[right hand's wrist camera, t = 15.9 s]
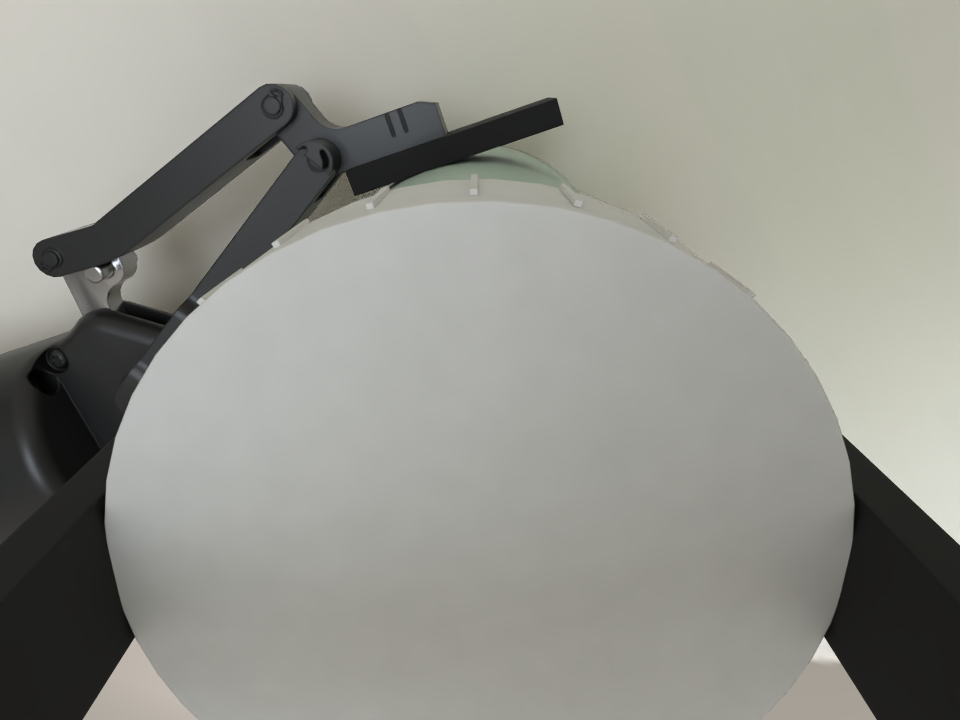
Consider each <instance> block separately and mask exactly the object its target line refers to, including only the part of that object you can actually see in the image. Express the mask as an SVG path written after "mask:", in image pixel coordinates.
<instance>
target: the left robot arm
mask: <svg viewBox="0 0 960 720" xmlns="http://www.w3.org/2000/svg"><path fill="white" fill-rule="evenodd" d="M561 125H564V124H563V120H562V116H561V113H560V109H559V105H558V101H557V98H546V99H543V100H540V101H537V102H534V103H531V104H528V105H525V106H522V107H520V108H517V109H514V110H511V111H508V112H505V113H502V114H499V115H497V116H494V117H491V118H488V119H485V120H482V121H479V122H476V123H474V124H471V125H468V126H465V127H462V128H459V129H456V130H453V131H451V132H448V131H447V128H446V125H445V122H444V119H443V116H442V113H441V110H440V107H439V104H438V103H436V102H422V101H421V102H416V103H413V104H410V105H407V106H404V107H402V108H399V109H396V110H393V111H390V112H387V113H385V114H382V115H379V116H376V117H373V118H371V119H368V120H365V121H362V122H359V123H356V124H354V125H351V126H348V127H340V126H337V125H334V124H332V123H331V122H329V121H328V120H327V119H326V118H325V117H324V116H323V115H322V114H321V112H320V111H319V110H318V109H317V108H316V106H315V105H314V104H313V103H312V99H311V97H310V95H309V93H308V92H307V91H306V90H305V89H303V88H302V87H300V86H297V85H290V84H265V85H263V86H261V87H259V88H258V89H257V90H256V91H254V92H253V93H252V94H251V95H249V96H248V97H247V98H246V99H245V100H243V101H242V102H241V103H240V104H239V105H237V106H236V107H235V108H234V109H233V110H231V111H230V112H229V113H228V114H227V115H225V116H224V117H223V118H222V119H220V120H219V121H218V122H217V123H216V124H214V125H213V126H212V127H211V128H210V129H208V130H207V131H206V132H205V133H204V134H202V135H201V136H200V137H199V138H198V139H196V140H195V141H194V142H193V143H191V144H190V145H189V146H188V147H187V148H185V149H184V150H183V151H182V152H181V153H179V154H178V155H177V156H176V157H175V158H173V159H172V160H171V161H170V162H169V163H167V164H166V165H165V166H164V167H162V168H161V169H160V170H159V171H158V172H156V173H155V174H154V175H153V176H152V177H150V178H149V179H148V180H147V181H146V182H144V183H143V184H142V185H141V186H140V187H138V188H137V189H136V190H135V191H133V192H132V193H131V194H130V195H129V196H127V197H126V198H125V199H124V200H123V201H121V202H120V203H119V204H118V205H117V206H115V207H114V208H113V209H112V210H111V211H109V212H108V213H107V214H106V215H104V216H103V217H102V218H101V219H100V220H98V221H97V222H96V223H93V224H90V225H87V226H83V227H80V228H77V229H74V230H71V231H68V232H65V233H62V234H59V235H56V236H53V237H50V238H47V239H44V240H42V241H40V242H38V243H37V244H36V246H35V247H34V249H33V259H34V262H35V264H36V266H37V267H38V268H39V270H41V271H42V272H43V273H45V274H46V275H49V276H52V277H61V276H63V277H64V279H65V281H66V283H67V285H68V287H69V289H70V291H71V293H72V295H73V297H74V299H75V301H76V303H77V305H78V307H79V309H80V311H81V313H82V315H83V317H81V318H80V319H79V321H78V322H77V323H76V325H75V326H74V328H73V329H72V330H71V331H70V332H67V333H64V334H61V335H58V336H55V337H52V338H49V339H46V340H43V341H40V342H37V343H34V344H31V345H28V346H25V347H22V348H19V349H16V350H13V351H10V352H7V353H4V354H1V355H0V544H1V543H2V542H3V541H5V540H6V539H7V538H8V537H9V536H10V535H11V534H12V533H13V532H14V531H15V530H16V529H17V528H18V527H19V526H20V525H22V524H23V523H24V522H25V521H26V520H27V519H28V518H29V517H30V516H31V515H32V514H33V513H34V512H35V511H36V510H37V509H39V508H40V507H41V506H42V505H43V504H44V503H45V502H46V501H47V500H48V499H49V498H50V497H51V496H52V495H53V494H54V493H56V492H57V491H58V490H59V489H60V488H61V487H62V486H63V485H64V484H65V483H66V482H67V481H68V480H69V479H70V478H72V477H73V476H74V475H75V474H76V473H77V472H78V471H79V470H80V469H81V468H82V467H83V466H84V465H85V464H86V463H87V462H89V461H90V460H91V459H92V458H93V457H94V456H95V455H96V454H97V453H98V452H99V451H100V450H101V449H102V448H103V447H104V446H106V445H107V444H108V443H109V442H110V441H111V440H112V439H113V438H114V437H115V436H116V435H117V432H118V429H119V427H120V424H121V422H122V419H123V416H124V414H125V411H126V409H127V406H128V404H129V401H130V398H131V396H132V394H133V392H134V391H135V389H136V387H137V385H138V384H139V382H140V380H141V379H142V377H143V375H144V374H145V372H146V370H147V368H148V367H149V365H150V363H151V362H152V360H153V358H154V357H155V355H156V354H157V352H158V351H159V350H160V349H161V348H162V346H163V345H164V344H165V343H166V342H167V340H168V339H169V338H170V337H171V335H172V334H173V333H174V332H175V331H176V329H177V328H178V327H179V326H180V325H181V323H182V322H183V321H184V320H185V319H186V317H187V316H188V315H189V314H191V313H192V312H193V311H194V310H195V309H196V308H197V307H198V306H200V305H199V304H198V303H197V301H198V300H199V299H200V298H201V297H202V296H203V295H205V294H206V293H208V292H209V291H210V290H212V289H213V288H214V287H216V286H217V285H219V284H220V283H221V282H223V281H224V280H225V279H227V278H228V277H230V276H231V275H232V274H234V273H235V272H236V271H238V270H239V269H240V268H242V269H244V268H246V267H247V266H248V265H250V264H251V263H252V262H254V261H255V260H256V259H258V258H259V257H260V256H262V255H263V254H264V253H266V252H267V251H268V250H270V249H271V248H273V246H272V244H271V243H273V242H274V241H275V240H277V239H278V238H280V237H281V236H282V235H284V234H285V233H287V232H288V231H289V230H291V229H292V228H293V227H295V226H296V225H298V224H299V223H300V222H302V221H303V220H305V219H307V218H309V216H310V215H311V214H312V212H313V211H314V210H315V209H316V207H317V206H318V205H319V203H320V202H321V201H322V200H323V198H324V197H325V196H326V194H327V193H328V192H329V191H330V189H331V188H332V187H333V185H334V184H335V183H336V182H337V180H338V179H339V178H340V176H341V175H342V174H343V173H344V172H346V174H347V177H348V180H349V182H350V185H351V187H352V190H353V193H354V195H355V196H356V195H359V194H362V193H365V192H368V191H371V190H374V189H377V188H380V187H383V186H385V185H388V184H391V183H394V182H397V181H400V180H403V179H406V178H409V177H412V176H415V175H418V174H421V173H423V172H426V171H429V170H432V169H435V168H438V167H441V166H444V165H447V164H450V163H453V162H456V161H459V160H462V159H464V158H467V157H470V156H473V155H476V154H479V153H482V152H485V151H488V150H491V149H494V148H497V147H500V146H502V145H505V144H508V143H511V142H514V141H517V140H520V139H523V138H526V137H529V136H532V135H535V134H538V133H541V132H543V131H546V130H549V129H552V128H555V127H558V126H561ZM280 141H282V142H283V143H284V144H285V145H286V146H287V147H288V149H289V150H290V151H291V152H292V153H293V154H294V157H293V158H292V159H291V161H290V162H289V163H288V165H287V166H286V168H285V169H284V170H283V172H282V173H281V174H280V176H279V177H278V178H277V180H276V181H275V182H274V184H273V185H272V186H271V188H270V189H269V190H268V192H267V193H266V194H265V196H264V197H263V199H262V200H261V201H260V203H259V204H258V205H257V207H256V208H255V209H254V211H253V212H252V213H251V215H250V216H249V217H248V219H247V220H246V221H245V223H244V224H243V225H242V227H241V228H240V229H239V231H238V232H237V234H236V235H235V236H234V238H233V239H232V240H231V242H230V243H229V244H228V246H227V247H226V248H225V250H224V251H223V252H222V254H221V255H220V256H219V258H218V259H217V260H216V262H215V263H214V264H213V266H212V267H211V269H210V270H209V271H208V273H207V274H206V275H205V277H204V278H203V279H202V281H201V282H200V283H199V285H198V286H197V287H196V289H195V290H194V291H193V293H192V294H191V295H190V297H189V298H188V299H187V300H186V301H185V302H184V303H183V304H182V305H181V306H180V307H179V308H178V309H177V311H176V312H175V313H174V314H171V313H167V312H164V311H160V310H157V309H153V308H150V307H146V306H143V305H140V304H136V303H133V302H129V301H123V300H122V297H121V290H120V289H121V286H122V284H123V283H124V281H126V280H127V279H129V278H130V277H132V276H133V275H134V273H135V272H136V269H137V260H138V258H137V255H136V254H135V252H134V251H135V250H137V249H139V248H141V247H143V246H145V245H147V244H149V243H151V242H153V241H155V240H156V239H158V238H159V237H161V236H162V235H164V234H165V233H166V232H168V231H169V230H170V229H171V228H173V227H174V226H175V225H176V224H178V223H179V222H180V221H181V220H183V219H184V218H185V217H186V216H188V215H189V214H190V213H191V212H193V211H194V210H195V209H196V208H198V207H199V206H200V205H201V204H203V203H204V202H205V201H206V200H208V199H209V198H210V197H211V196H213V195H214V194H215V193H216V192H218V191H219V190H220V189H222V188H223V187H224V186H225V185H227V184H228V183H229V182H230V181H232V180H233V179H234V178H235V177H237V176H238V175H239V174H240V173H242V172H243V171H244V170H245V169H247V168H248V167H249V166H250V165H252V164H253V163H254V162H255V161H257V160H258V159H259V158H260V157H262V156H263V155H264V154H265V153H267V152H268V151H269V150H270V149H272V148H273V147H274V146H275V145H277V144H278V143H279V142H280Z"/></svg>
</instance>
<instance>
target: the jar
mask: <svg viewBox="0 0 960 720" xmlns="http://www.w3.org/2000/svg"><path fill="white" fill-rule="evenodd" d="M471 174H478V179H499V180H508V181H518V182H527V183H537V184H543V185H547V186H551V187H555V188H559V189H560V185H561V183H562V184H566V185H568V186H569V187H570V188H571V189H572V191H573V192H576V193H578V192H577V191H576V190H575V189H574V188H573V187H572V186H571V185H570V184H569V183H568V182H567V181H566V180H565V179H564V178H563V177H562V176H561V175H560V174H559V173H557V172H556V171H555V170H554V169H552V168H551V167H550V166H548V165H547V164H545V163H543V162H542V161H540V160H538V159H537V158H535V157H532V156H530V155H528V154H526V153H523V152H521V151H517V150H514V149H510V148H507V147H501V146H500V147H497V148H494V149H491V150H488V151H485V152H482V153H479V154H476V155H473V156H470V157H467V158H464V159H462V160H459V161H456V162H453V163H450V164H447V165H444V166H441V167H438V168H435V169H432V170H429V171H426V172H423V173H421V174H418V175H415V176H412V177H409V178H406V179H403V180H400V181H397V182H394V183H391V184H390V185H389V188H390V190H394V189H397V188H402V187H408V186H414V185H420V184H426V183H432V182H438V181H444V180H471Z"/></svg>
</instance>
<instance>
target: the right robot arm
mask: <svg viewBox="0 0 960 720" xmlns="http://www.w3.org/2000/svg"><path fill="white" fill-rule="evenodd" d="M115 437H116V436H115ZM115 437H114V438H113V439H112V440H111V441H110V442H109V443H108V444H107V445H106V446H104V447H103V448H102V449H101V450H100V451H99V452H98V453H97V454H96V455H95V456H94V457H93V458H92V459H91V460H90V461H89V462H87V463H86V464H85V465H84V466H83V467H82V468H81V469H80V470H79V471H78V472H77V473H76V474H75V475H74V476H73V477H72V478H70V479H69V480H68V481H67V482H66V483H65V484H64V485H63V486H62V487H61V488H60V489H59V490H58V491H57V492H56V493H54V494H53V495H52V496H51V497H50V498H49V499H48V500H47V501H46V502H45V503H44V504H43V505H42V506H41V507H40V508H39V509H37V510H36V511H35V512H34V513H33V514H32V515H31V516H30V517H29V518H28V519H27V520H26V521H25V522H24V523H23V524H22V525H20V526H19V527H18V528H17V529H16V530H15V531H14V532H13V533H12V534H11V535H10V536H9V537H8V538H7V539H6V540H5V541H3V542H2V543H1V544H0V720H83V718H84V716H85V715H86V713H87V712H88V710H89V708H90V707H91V705H92V704H93V702H94V701H95V699H96V698H97V696H98V694H99V693H100V691H101V690H102V688H103V686H104V685H105V683H106V682H107V680H108V679H109V677H110V675H111V674H112V672H113V671H114V669H115V668H116V666H117V664H118V663H119V661H120V660H121V658H122V656H123V655H124V653H125V652H126V650H127V649H128V647H129V645H130V644H131V642H132V641H133V639H134V638H135V636H134V634H133V631H132V629H131V627H130V624H129V622H128V620H127V618H126V615H125V613H124V611H123V607H122V604H121V600H120V596H119V592H118V588H117V583H116V579H115V575H114V571H113V567H112V563H111V558H110V554H109V549H108V544H107V540H106V532H105V523H104V522H105V500H106V480H107V475H108V470H109V465H110V461H111V456H112V451H113V446H114V442H115ZM842 437H843V440H844V444H845V448H846V451H847V455H848V458H849V462H850V470H851V479H852V487H853V496H854V505H855V506H854V528H853V541H852V547H851V551H850V555H849V560H848V564H847V568H846V572H845V577H844V581H843V585H842V589H841V593H840V597H839V601H838V604H837V608H836V611H835V613H834V616H833V619H832V621H831V624H830V626H829V628H828V630H827V631H826V633H825V635H824V637H825V639H826V640H827V642H828V643H829V645H830V647H831V648H832V650H833V651H834V653H835V654H836V656H837V658H838V659H839V661H840V662H841V664H842V666H843V667H844V669H845V670H846V672H847V673H848V675H849V677H850V678H851V680H852V681H853V683H854V684H855V686H856V688H857V689H858V691H859V692H860V694H861V695H862V697H863V699H864V700H865V702H866V703H867V705H868V706H869V708H870V710H871V711H872V713H873V714H874V716H875V718H876V719H877V720H960V545H959V544H958V543H957V542H956V541H955V540H954V539H953V538H952V537H950V536H949V535H948V534H947V533H946V532H945V531H944V530H943V529H942V528H941V527H940V526H939V525H938V524H937V523H936V522H935V521H933V520H932V519H931V518H930V517H929V516H928V515H927V514H926V513H925V512H924V511H923V510H922V509H921V508H920V507H919V506H917V505H916V504H915V503H914V502H913V501H912V500H911V499H910V498H909V497H908V496H907V495H906V494H905V493H904V492H903V491H902V490H900V489H899V488H898V487H897V486H896V485H895V484H894V483H893V482H892V481H891V480H890V479H889V478H888V477H887V476H886V475H885V474H883V473H882V472H881V471H880V470H879V469H878V468H877V467H876V466H875V465H874V464H873V463H872V462H871V461H870V460H869V459H868V458H866V457H865V456H864V455H863V454H862V453H861V452H860V451H859V450H858V449H857V448H856V447H855V446H854V445H853V444H852V443H851V442H849V441H848V440H847V439H846V438H845V437H844V436H843V435H842Z"/></svg>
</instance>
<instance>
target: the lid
mask: <svg viewBox="0 0 960 720" xmlns="http://www.w3.org/2000/svg"><path fill="white" fill-rule="evenodd" d="M677 240H678V238H677V237H676V236H675V235H673V234H672V233H670V232H669V231H668V230H666V229H665V228H664V227H662V226H661V225H659V224H658V223H657V222H655V221H654V220H653V219H651V218H650V217H649V216H647V215H645V214H643V215H642V217H641V219H640V218H639V217H637V216H635V215H633V214H632V213H630V212H628V211H625V210H622V209H620V208H617V207H615V206H612V205H610V204H607V203H605V202H602V201H600V200H597V199H595V198H592V197H590V196H587V195H584V194H580V193H576V192H573V191H572V189H571V188H570V187H569V186H568V185H566V184H562V183H561V185H560V189H559V188H555V187H551V186H547V185H543V184H537V183H527V182H518V181H508V180H499V179H478V174H471V180H444V181H438V182H432V183H426V184H420V185H414V186H408V187H402V188H397V189H394V190H390V188H389V186H386V187H382V188H381V189H380V190H379V191H378V192H377V193H376V194H375V195H374V196H371V197H368V198H365V199H361V200H358V201H355V202H352V203H350V204H348V205H346V206H344V207H342V208H339V209H337V210H335V211H333V212H331V213H329V214H327V215H325V216H322V217H320V218H318V219H316V220H314V221H312V222H310V221H309V220H308V218H307V219H305V220H303V221H302V222H300V223H299V224H298V225H296V226H295V227H293V228H292V229H291V230H289V231H288V232H287V233H285V234H284V235H282V236H281V237H280V238H278V239H277V240H275V241H274V242H273V243H271V244H272V246H273V248H271V249H270V250H268V251H267V252H266V253H264V254H263V255H262V256H260V257H259V258H258V259H256V260H255V261H254V262H252V263H251V264H250V265H248V266H247V267H246V268H244V269H242V268H240V269H239V270H238V271H236V272H235V273H234V274H232V275H231V276H230V277H228V278H227V279H225V280H224V281H223V282H221V283H220V284H219V285H217V286H216V287H214V288H213V289H212V290H210V291H209V292H208V293H206V294H205V295H203V296H202V297H201V298H200V299H199V300H198V301H197V303H198V304H199V305H200V306H198V307H197V308H196V309H195V310H194V311H193V312H192V313H191V314H189V315H188V316H187V317H186V319H185V320H184V321H183V322H182V323H181V325H180V326H179V327H178V328H177V329H176V331H175V332H174V333H173V334H172V335H171V337H170V338H169V339H168V340H167V342H166V343H165V344H164V345H163V346H162V348H161V349H160V350H159V351H158V352H157V354H156V355H155V357H154V358H153V360H152V362H151V363H150V365H149V367H148V368H147V370H146V372H145V374H144V375H143V377H142V379H141V380H140V382H139V384H138V385H137V387H136V389H135V391H134V392H133V394H132V396H131V398H130V401H129V404H128V406H127V409H126V411H125V414H124V416H123V419H122V422H121V424H120V427H119V429H118V432H117V435H116V437H115V442H114V446H113V451H112V456H111V461H110V465H109V470H108V475H107V480H106V500H105V522H104V523H105V532H106V540H107V544H108V549H109V554H110V558H111V563H112V567H113V571H114V575H115V579H116V583H117V588H118V592H119V596H120V600H121V604H122V607H123V611H124V613H125V615H126V618H127V620H128V622H129V624H130V627H131V629H132V631H133V634H134V636H135V638H136V640H137V642H138V643H139V645H140V646H141V648H142V650H143V651H144V653H145V655H146V656H147V658H148V659H149V661H150V663H151V664H152V666H153V668H154V669H155V671H156V672H157V674H158V675H159V676H160V677H161V679H162V680H163V681H164V682H165V684H166V685H167V686H168V687H169V689H170V690H171V691H172V692H173V693H174V695H175V696H176V697H177V698H178V700H179V701H180V702H181V703H182V704H183V705H184V706H185V707H186V708H187V709H188V710H189V711H190V712H191V713H192V714H193V715H194V716H195V717H196V718H197V719H198V720H762V719H763V718H764V717H765V716H766V714H767V713H768V712H769V711H770V710H771V709H772V708H773V707H774V706H775V705H776V704H777V703H778V702H779V701H780V699H781V698H782V697H783V696H784V695H785V694H786V693H787V692H788V691H789V690H790V688H791V687H792V685H793V684H794V683H795V681H796V680H797V678H798V677H799V676H800V674H801V673H802V672H803V670H804V669H805V667H806V666H807V665H808V663H809V662H810V661H811V659H812V657H813V656H814V654H815V652H816V650H817V648H818V646H819V644H820V643H821V641H822V639H823V637H824V635H825V633H826V631H827V630H828V628H829V626H830V624H831V621H832V619H833V616H834V613H835V611H836V608H837V604H838V601H839V597H840V593H841V589H842V585H843V581H844V577H845V572H846V568H847V564H848V560H849V555H850V551H851V547H852V541H853V528H854V506H855V505H854V496H853V487H852V479H851V470H850V462H849V458H848V455H847V451H846V448H845V444H844V440H843V437H842V433H841V430H840V426H839V423H838V419H837V417H836V415H835V413H834V411H833V409H832V407H831V405H830V402H829V400H828V398H827V396H826V394H825V392H824V390H823V388H822V385H821V383H820V381H819V379H818V377H817V376H816V374H815V373H814V371H813V370H812V368H811V367H810V365H809V363H808V361H807V360H806V359H805V358H804V357H803V355H802V354H801V352H800V351H799V349H798V348H797V347H796V345H795V344H794V342H793V341H792V339H791V338H790V337H789V336H788V335H787V334H786V333H785V331H784V330H783V329H782V328H781V327H780V326H779V325H778V324H777V323H776V322H775V321H774V320H773V319H772V318H771V317H770V316H769V315H768V314H767V312H766V311H765V310H764V309H763V308H762V307H761V306H760V305H759V304H758V303H757V302H756V301H755V300H754V299H752V298H753V297H754V296H755V294H754V293H753V292H752V291H751V290H749V289H748V288H747V287H745V286H744V285H743V284H741V283H740V282H738V281H737V280H736V279H734V278H733V277H732V276H730V275H729V274H727V273H726V272H725V271H723V270H722V269H721V268H719V267H718V266H716V265H715V264H714V263H712V262H711V263H710V264H707V263H706V262H705V261H703V260H702V259H701V258H699V257H698V256H697V255H695V254H694V253H693V252H691V251H690V250H689V249H687V248H686V247H685V246H683V245H682V244H681V243H679V242H678V241H677Z"/></svg>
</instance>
